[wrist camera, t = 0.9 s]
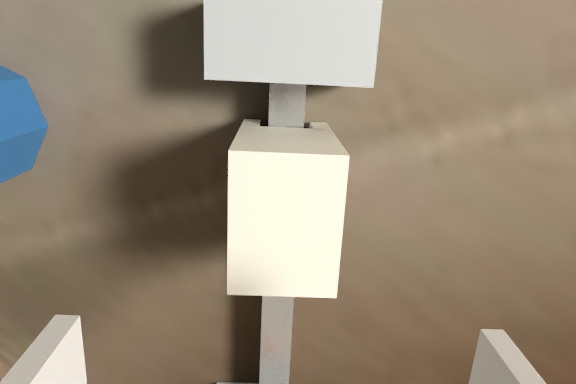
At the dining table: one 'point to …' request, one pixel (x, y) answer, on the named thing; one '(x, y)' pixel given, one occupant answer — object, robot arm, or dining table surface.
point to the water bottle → (18, 125)
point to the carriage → (285, 210)
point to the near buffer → (292, 41)
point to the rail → (279, 309)
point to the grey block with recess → (234, 383)
